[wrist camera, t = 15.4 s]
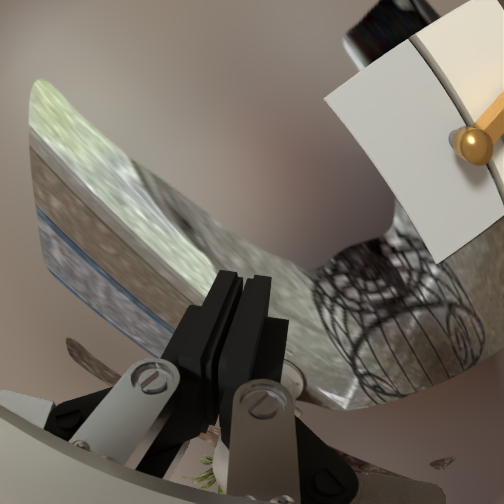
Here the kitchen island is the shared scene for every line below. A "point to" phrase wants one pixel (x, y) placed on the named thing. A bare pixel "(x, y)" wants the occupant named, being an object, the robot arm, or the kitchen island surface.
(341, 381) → the kitchen island surface
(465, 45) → the door mock-up
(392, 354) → the kitchen island surface
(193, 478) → the house plant
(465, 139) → the latch bar
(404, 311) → the kitchen island surface
